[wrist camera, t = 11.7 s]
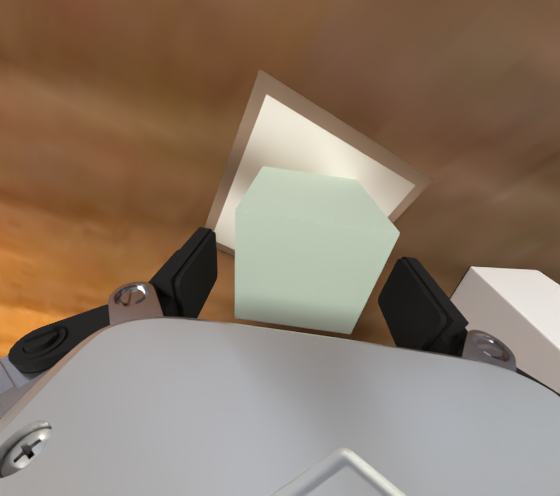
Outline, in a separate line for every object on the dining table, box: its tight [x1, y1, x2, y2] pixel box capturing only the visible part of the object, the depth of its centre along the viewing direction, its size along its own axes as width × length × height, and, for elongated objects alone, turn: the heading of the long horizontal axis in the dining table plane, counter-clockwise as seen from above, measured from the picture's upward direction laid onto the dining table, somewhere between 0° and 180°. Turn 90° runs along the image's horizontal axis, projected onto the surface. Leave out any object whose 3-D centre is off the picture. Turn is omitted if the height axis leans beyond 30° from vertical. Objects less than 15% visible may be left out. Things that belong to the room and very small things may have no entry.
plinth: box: [205, 70, 433, 256], centre depth 17 cm, size 12×12×3 cm
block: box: [235, 166, 400, 334], centre depth 12 cm, size 6×6×7 cm
